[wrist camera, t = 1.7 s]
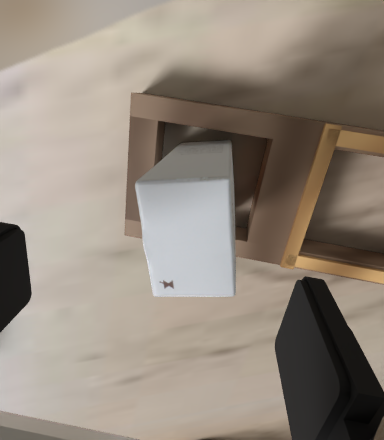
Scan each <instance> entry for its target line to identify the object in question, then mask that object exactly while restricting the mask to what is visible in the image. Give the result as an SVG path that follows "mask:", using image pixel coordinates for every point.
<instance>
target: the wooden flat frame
mask: <svg viewBox="0 0 384 440" xmlns="http://www.w3.org/2000/svg"><path fill="white" fill-rule="evenodd" d="M165 122H170V123H176V124H182V125H189V126H195V127H201V128H207V129H213V130H219V131H226V132H232V133H238V134H244V135H250V136H256V137H262V138H268V140H267V144H266V149H265V153H264V157H263V161H262V165H261V169H260V173H259V177H258V181H257V186H256V190H255V194H254V198H253V202H252V206H251V210H250V214H249V218H248V222H247V227H246V228H241V227H235V249H236V257H241V258H247V259H252V260H257V261H262V262H268V263H273V264H278V265H280V266H281V267H284V268H289V269H294V268H299V269H304V270H310V271H315V272H320V273H325V274H331V275H336V276H341V277H347V278H352V279H357V280H362V281H368V282H373V283H378V284H383V285H384V254H382V253H377V252H371V251H366V250H361V249H355V248H350V247H344V246H339V245H333V244H328V243H322V242H317V241H312V240H306V239H304V237H305V234H306V231H307V228H308V225H309V222H310V219H311V216H312V213H313V210H314V207H315V204H316V202H317V199H318V196H319V193H320V190H321V187H322V184H323V181H324V178H325V175H326V172H327V169H328V167H329V164H330V161H331V158H332V155H333V152H334V149H336V150H342V151H349V152H355V153H361V154H367V155H373V156H379V157H384V131H382V130H375V129H369V128H362V127H356V126H350V125H343V124H337V123H330V122H324V121H318V120H311V119H305V118H299V117H292V116H286V115H279V114H273V113H267V112H260V111H254V110H247V109H241V108H235V107H228V106H222V105H216V104H209V103H203V102H196V101H190V100H184V99H177V98H171V97H165V96H158V95H152V94H145V93H131V107H130V129H129V150H128V171H127V192H126V214H125V235H126V236H131V237H136V238H142V226H141V219H140V214H139V207H138V201H137V195H136V189H135V183H136V181H137V180H138V179H139V178H141V177H142V176H143V175H144V174H146V173H147V172H148V171H149V170H150V169H152V168H153V167H154V166H155V165H156V164H157V163H158V162H160V161H161V160H162V151H163V141H164V130H165Z"/></svg>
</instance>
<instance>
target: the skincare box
mask: <svg viewBox="0 0 384 440" xmlns="http://www.w3.org/2000/svg"><path fill="white" fill-rule="evenodd" d="M135 189H136V195H137V201H138V207H139V214H140V219H141V226H142V239H143V246H144V251H145V254H146V258H147V263H148V269H149V274H150V280H151V286H152V291H153V295H154V296H155V297H230V296H235V293H236V249H235V198H234V176H233V159H232V141H231V140H222V141H204V142H187V143H180V144H179V145H178V146H177V147H175V148H174V149H173V150H172V151H171V152H170V153H169V154H168V155H166V156H165V157H164V158H163V159H162V160H161V161H160V162H158V163H157V164H156V165H155V166H154V167H153V168H152V169H150V170H149V171H148V172H147V173H146V174H144V175H143V176H142V177H141V178H139V179H138V180H137V181H136V183H135Z"/></svg>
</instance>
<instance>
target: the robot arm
mask: <svg viewBox="0 0 384 440" xmlns="http://www.w3.org/2000/svg"><path fill="white" fill-rule="evenodd" d="M30 298H31V284H30V275H29V267H28V258H27V250H26V242H25V234H24V232H23V231H22V230H21V229H20V227H19V226H18V225H14V224H8V223H3V222H0V332H1V331H2V330H3V329H4V328H5V327H6V326H7V325H8V324H9V323H10V322H11V321H12V319H13V318H14V317H15V316H16V315H17V314H18V313H19V312H20V311H21V310H22V309H23V308H24V307H25V306H26V305H27V303H28V302H29V300H30ZM275 352H276V357H277V362H278V368H279V373H280V378H281V384H282V389H283V394H284V399H285V405H286V410H287V415H288V420H289V426H290V431H291V436H292V440H384V391H383V389H382V387H381V385H380V383H379V382H378V380H377V378H376V376H375V374H374V372H373V370H372V368H371V366H370V364H369V363H368V361H367V359H366V357H365V355H364V353H363V351H362V349H361V347H360V345H359V344H358V342H357V340H356V338H355V336H354V334H353V332H352V331H351V329H350V328H349V327H348V325H347V323H346V321H345V319H344V317H343V315H342V314H341V312H340V310H339V308H338V306H337V304H336V302H335V300H334V298H333V296H332V294H331V292H330V291H329V289H328V287H327V285H326V283H325V281H324V280H322V279H317V278H311V277H306V276H305V277H304V278H303V279H302V280H297V282H296V284H295V287H294V289H293V292H292V295H291V298H290V301H289V303H288V306H287V309H286V312H285V315H284V317H283V320H282V323H281V326H280V329H279V331H278V334H277V337H276V340H275ZM0 440H139V439H134V438H129V437H125V436H120V435H115V434H110V433H105V432H100V431H96V430H91V429H86V428H81V427H76V426H71V425H67V424H62V423H57V422H52V421H47V420H42V419H37V418H33V417H28V416H23V415H18V414H13V413H8V412H3V411H0Z"/></svg>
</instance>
